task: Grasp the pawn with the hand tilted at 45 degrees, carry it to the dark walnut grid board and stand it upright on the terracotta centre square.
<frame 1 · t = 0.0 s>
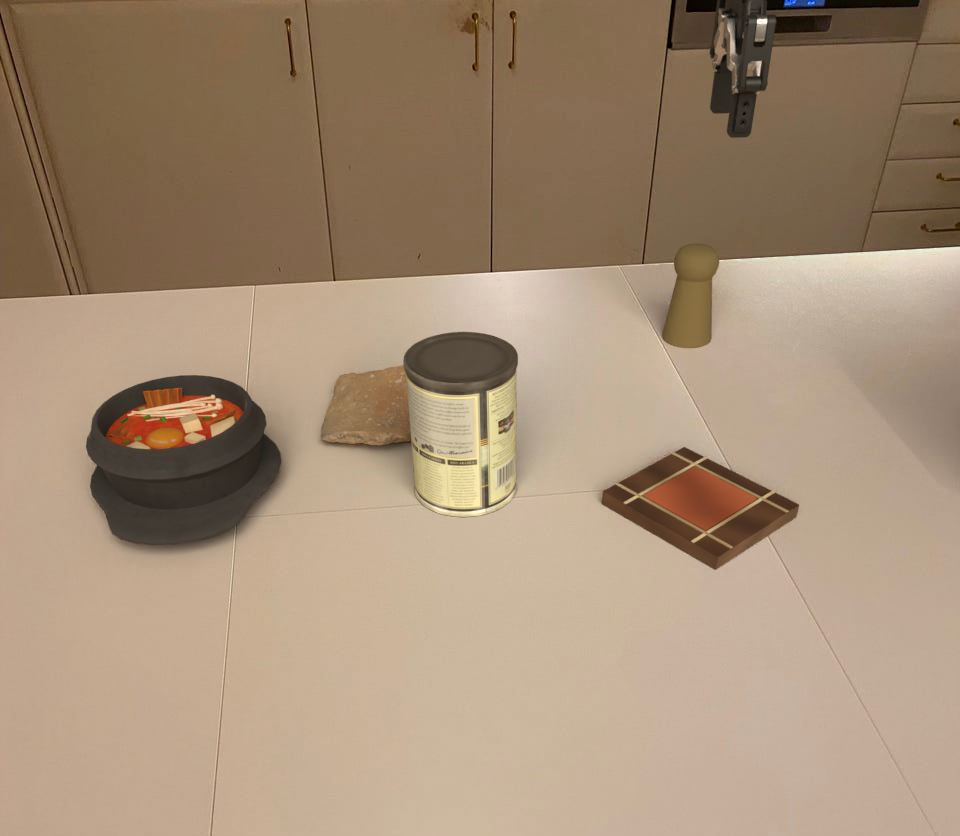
hand: (729, 124, 98), 26 cm above the table, tool pointing down, fingers open, 8 cm apart
stone: (378, 419, 108), on the table
grid board: (697, 510, 94), on the table
casserole: (191, 487, 99), on the table
coffee can: (465, 490, 98), on the table
pawn: (686, 338, 122), on the table
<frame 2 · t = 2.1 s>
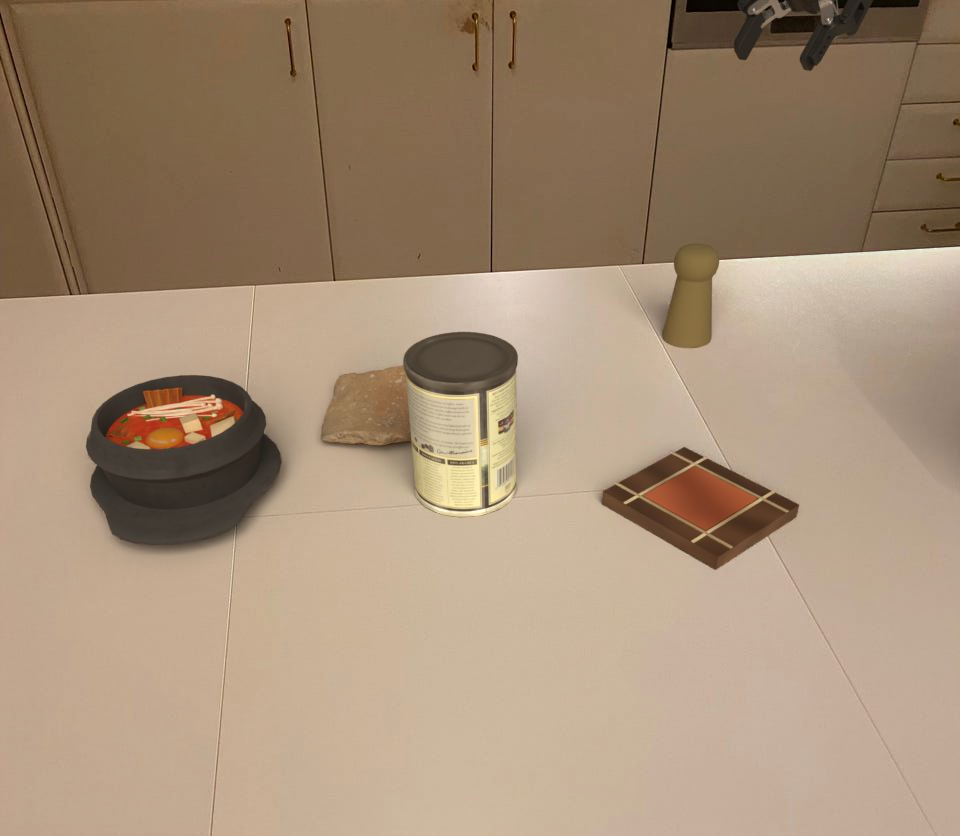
hand: (770, 60, 107), 29 cm above the table, tool tilted 45°, fingers open, 8 cm apart
nothing on the table moved.
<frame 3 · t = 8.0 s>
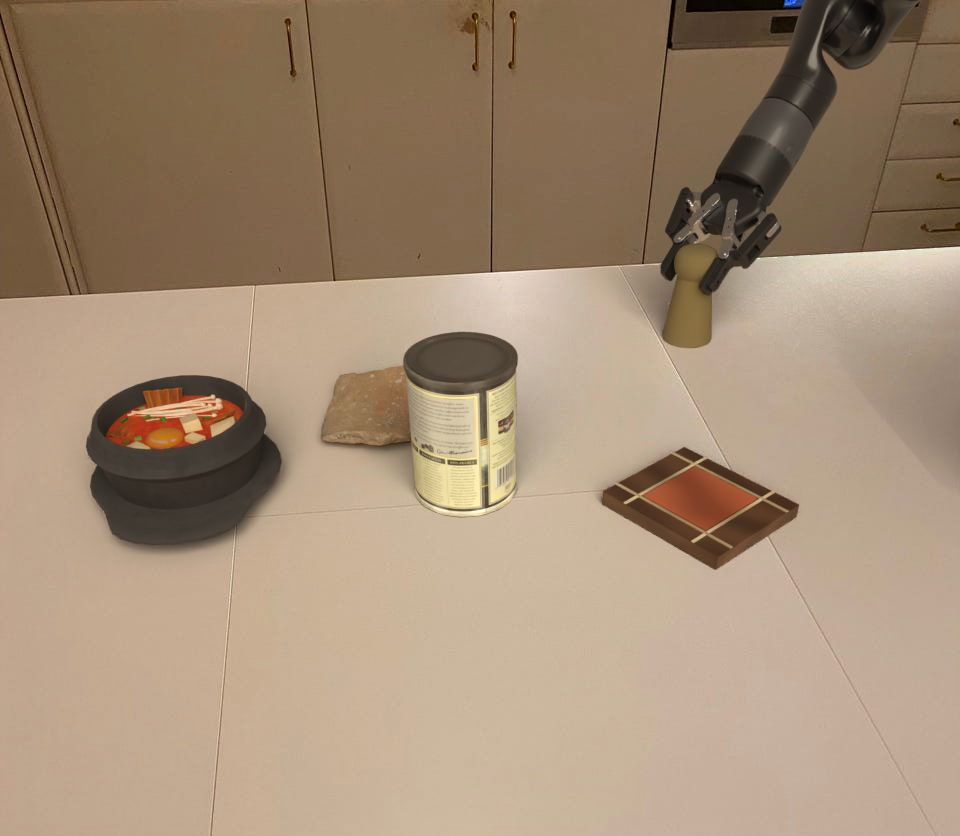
hand: (684, 283, 116), 7 cm above the table, tool tilted 45°, fingers closed on pawn, 5 cm apart
pawn: (686, 338, 122), on the table, touching gripper
everything else where it was.
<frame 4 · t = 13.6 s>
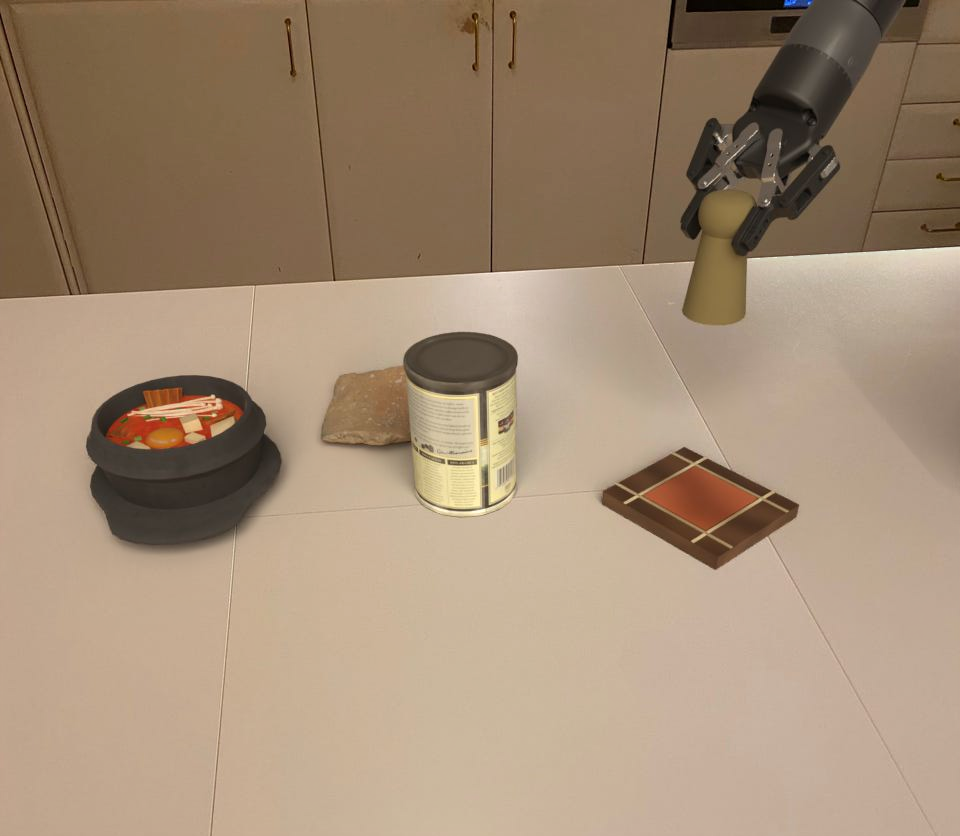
hand: (711, 241, 90), 21 cm above the table, tool tilted 45°, fingers closed on pawn, 5 cm apart
pawn: (713, 314, 95), point 13 cm above the table, touching gripper
everything else where it was.
when the fingers open (9 cm above the table, at t = 19.2 s): pawn stays where it is, resting on grid board.
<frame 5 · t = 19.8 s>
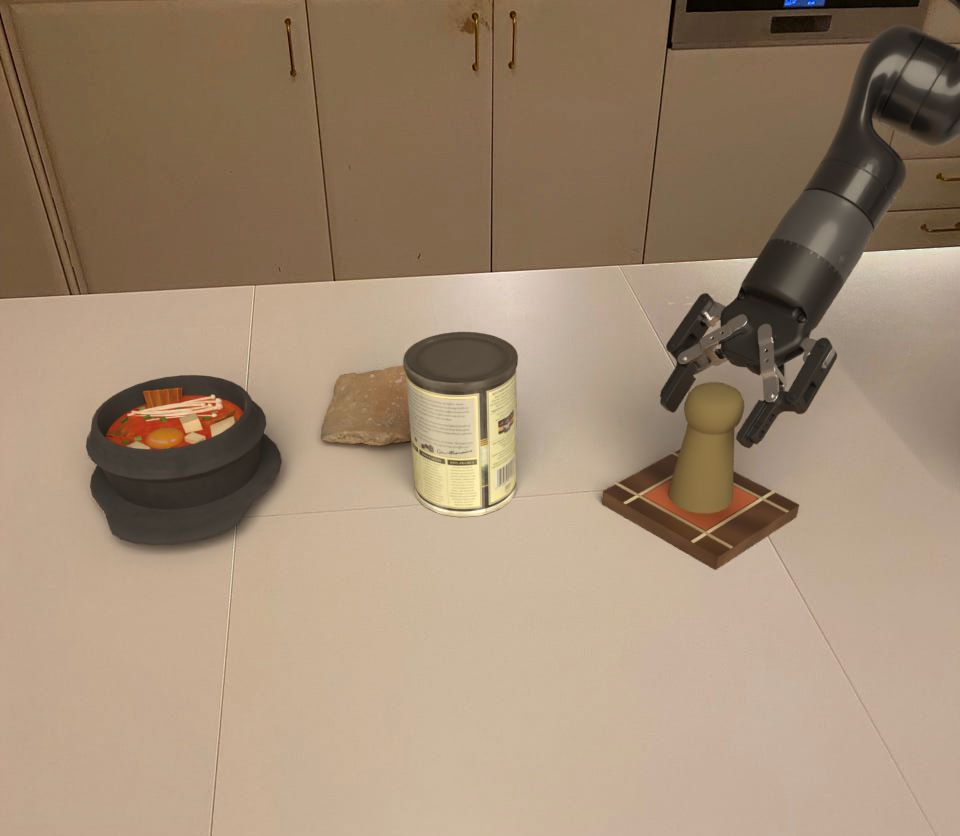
hand: (702, 425, 87), 10 cm above the table, tool tilted 45°, fingers open, 8 cm apart
pawn: (699, 496, 94), point 1 cm above the table, touching grid board
everything else where it was.
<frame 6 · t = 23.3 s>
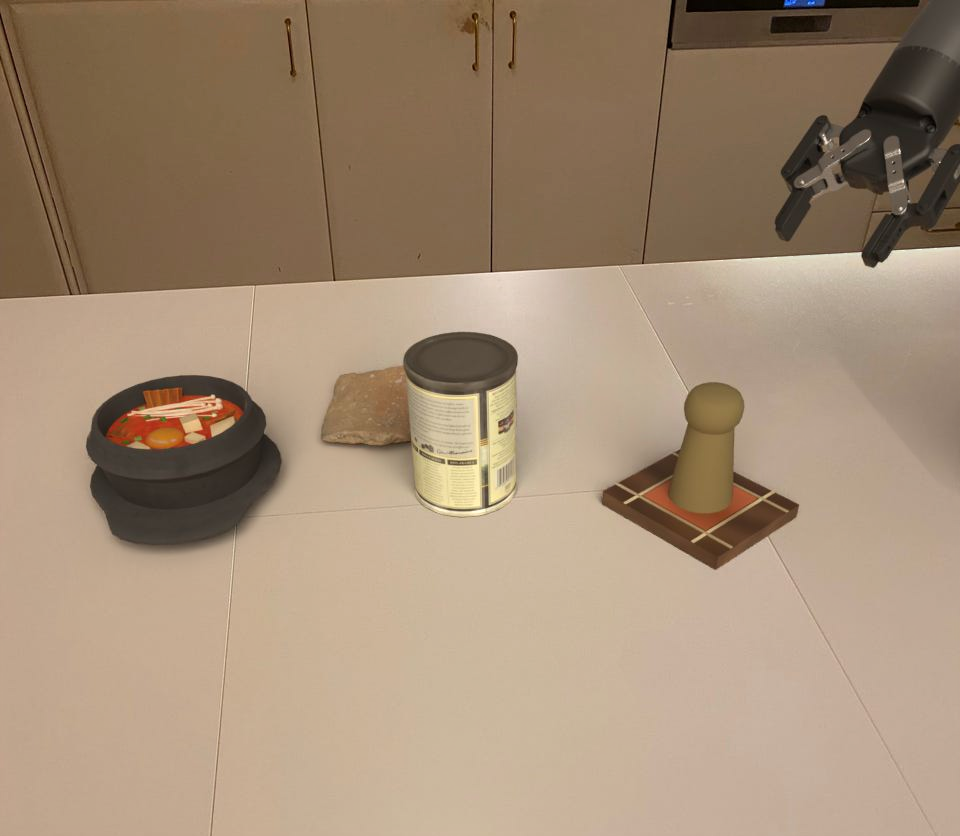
hand: (822, 248, 84), 22 cm above the table, tool tilted 45°, fingers open, 8 cm apart
nothing on the table moved.
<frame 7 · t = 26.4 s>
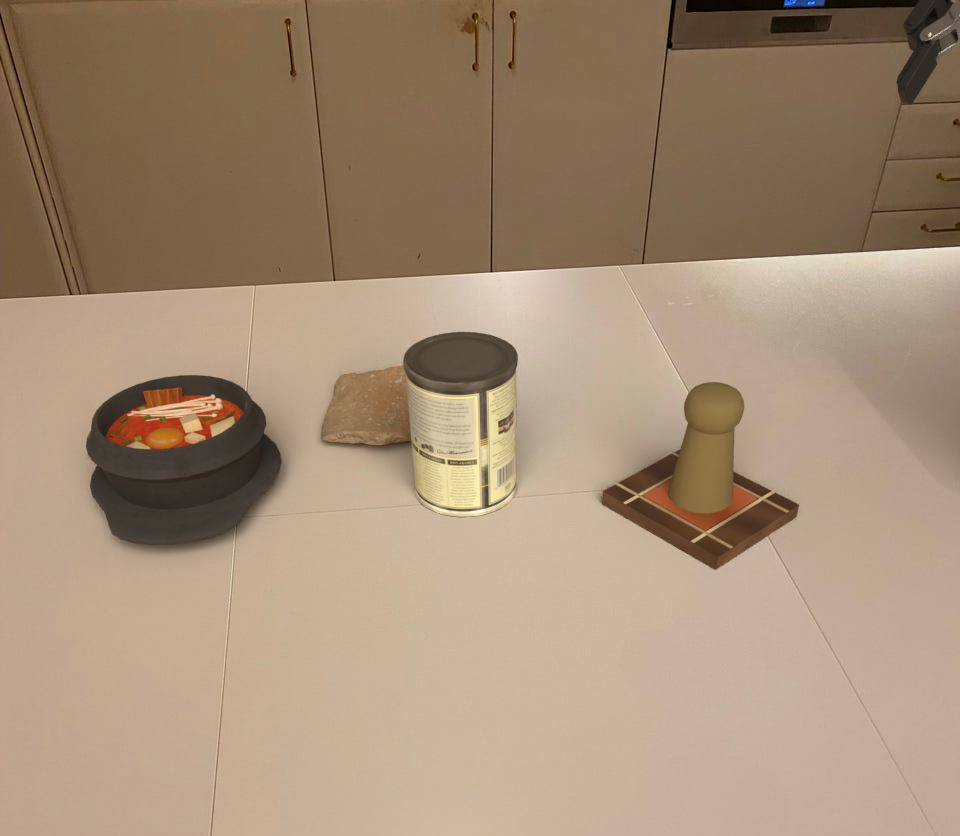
hand: (953, 107, 75), 34 cm above the table, tool tilted 45°, fingers open, 8 cm apart
nothing on the table moved.
at the end: pawn 0.3 cm off-centre on the grid board, point 1.4 cm above the grid board's base; pawn tilted 0°; the gripper is holding nothing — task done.
